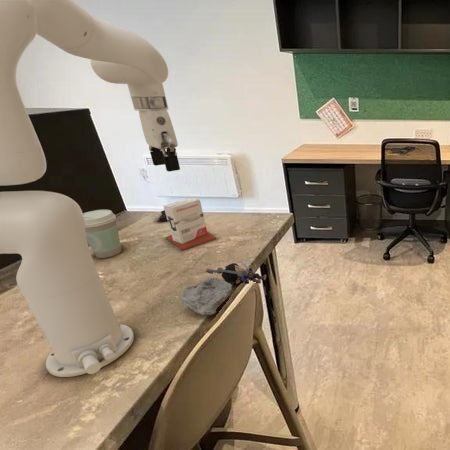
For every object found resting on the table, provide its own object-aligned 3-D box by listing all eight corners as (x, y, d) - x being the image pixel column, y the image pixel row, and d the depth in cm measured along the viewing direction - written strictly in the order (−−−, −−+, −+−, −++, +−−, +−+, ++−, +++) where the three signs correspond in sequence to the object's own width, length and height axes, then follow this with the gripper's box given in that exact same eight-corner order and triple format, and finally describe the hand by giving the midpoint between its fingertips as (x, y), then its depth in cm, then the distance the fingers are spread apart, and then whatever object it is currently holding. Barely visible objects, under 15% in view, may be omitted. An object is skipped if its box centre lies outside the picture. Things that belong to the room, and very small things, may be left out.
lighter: (178, 211, 125) (163, 215, 125) (175, 206, 124) (160, 210, 124) (173, 220, 119) (157, 225, 118) (170, 215, 118) (154, 220, 117)
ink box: (198, 230, 111) (190, 196, 106) (208, 233, 109) (200, 199, 104) (172, 240, 104) (162, 204, 100) (182, 244, 102) (172, 208, 97)
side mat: (216, 239, 107) (216, 237, 107) (182, 250, 100) (181, 248, 100) (199, 228, 114) (198, 226, 114) (166, 238, 107) (165, 236, 107)
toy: (262, 258, 83) (208, 250, 86) (252, 282, 80) (196, 273, 83) (272, 267, 88) (220, 259, 91) (262, 291, 85) (209, 281, 88)
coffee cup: (88, 252, 98) (72, 213, 93) (124, 243, 103) (112, 206, 98) (91, 263, 92) (74, 223, 87) (129, 253, 98) (116, 215, 93)
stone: (214, 261, 78) (216, 288, 71) (236, 277, 83) (239, 304, 75) (180, 286, 77) (177, 316, 70) (203, 301, 82) (203, 331, 74)
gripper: (179, 105, 88) (194, 170, 95) (154, 101, 98) (169, 160, 104) (145, 106, 82) (163, 175, 89) (122, 102, 92) (140, 164, 99)
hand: (166, 167), depth 97 cm, fingers open, 9 cm apart
